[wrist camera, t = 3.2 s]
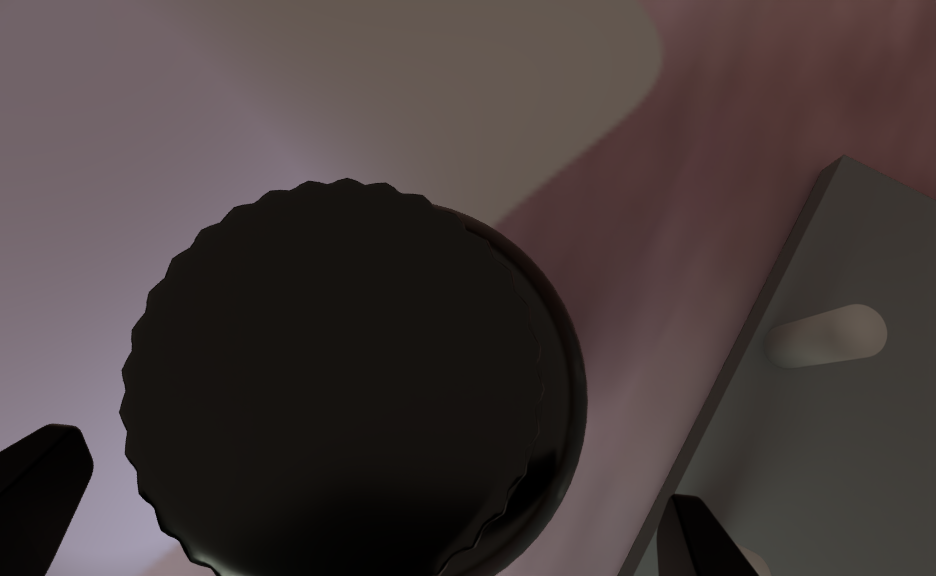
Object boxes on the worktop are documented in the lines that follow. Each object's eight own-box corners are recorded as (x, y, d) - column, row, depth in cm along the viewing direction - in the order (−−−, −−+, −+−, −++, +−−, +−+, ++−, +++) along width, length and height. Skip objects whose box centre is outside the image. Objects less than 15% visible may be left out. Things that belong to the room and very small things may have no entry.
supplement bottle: (530, 277, 19) (606, 65, 8) (559, 511, 18) (708, 697, 6) (306, 301, 19) (33, 126, 8) (318, 536, 18) (10, 770, 6)
